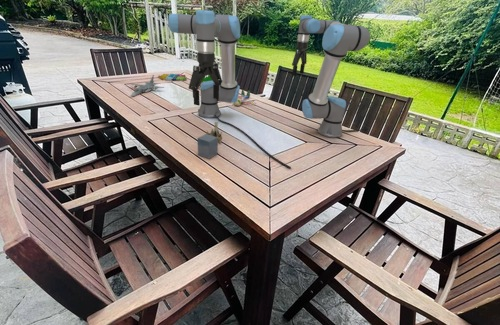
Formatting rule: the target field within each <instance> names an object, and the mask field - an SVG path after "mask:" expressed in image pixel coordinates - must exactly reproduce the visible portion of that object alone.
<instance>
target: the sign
mask: <svg viewBox="0 0 500 325" xmlns="http://www.w3.org/2000/svg"><path fill="white" fill-rule="evenodd" d="M158 78H159V80H162V81H163V80H165V81H172V82H173V81H178V82H179V81H182V82H184V81H187V77H186V74H180V73H163V74H161V75H158Z"/></svg>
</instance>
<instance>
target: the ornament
mask: <svg viewBox="0 0 500 325" xmlns="http://www.w3.org/2000/svg"><path fill="white" fill-rule="evenodd" d="M206 81H213V80H212V79H211V77H210V75H207V76H205V77H204V78H203V80H202V82H201V83H203V82H206ZM199 88H201V84H200V86H199Z"/></svg>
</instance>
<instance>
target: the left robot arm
mask: <svg viewBox="0 0 500 325" xmlns="http://www.w3.org/2000/svg"><path fill="white" fill-rule="evenodd" d="M167 24H168V29H169V30H170V32H171V33H174V34H186V35H188V34H189V35H196V51H197V53H196V61H197V62H198V65H193V66H192V73H191V77H190V81H189V84H188V90H191V91H192V98H193V105H195V106H198V107H199V109H198V116H199V117H201V118H205V119H214V118H216V119H217V120H218V121H219V122H221V123H222V124H227V125H229V126H231V127H233V128H234V129H236V130H238V131H240V132H241V133H243V135H245V136H246V137H247V138H248V139H249V140H251V141H252V142H253V143H254V144H255V145H256V147H258V148H259V149H260V150H261V151H263V152H264V153H265V154H266V155H268V156H269V157H270V158H272V159H273V160H275V161H276V162H278V163H279V164H280V165H283V166H284V167H286V168H288V169H291V166H290V165H288V164H286V163H285V162H282V161H281V160H279V159H278V158H277V157H275V156H274V155H272V154H270V153H269V152H268V151H267V150H266V149H264V148H263V147H262V146H261V145H260V144H259V143H258V142H256V140H254V139H253V138H252V137H251V136H250V135H249V134H248V133H246V132H245V131H244V130H242V129H241V128H239V127H237V125H236V126H235V125H234V124H232V123H230V122H226V121H224V120H221V119H220V118H219V117H221V110H220V108H219V102H220V103H221V102H222V103H223V102H224V103H230V104H231V103H232V104H233V103H235V102H237V100H238V96H240V89H241V86H240V85H238V81H236V44H237V43H238V40H239V39H240V38H241V25H240V20H239V17H238V16H236V15H231V14H218V13H217V14H216V13H215V12H214V11H213V10H203V9H197V10H196V11H195V14H185V13H170V14H169V15H168V18H167ZM215 38H217V42H218V43H219V45H220V62H221V63H220V64H221V72H220V69H219V63H217V62H216V54H215V52H216V40H215ZM208 75H210V77H211V79H212V80H213V81H206V82H203V83H201V82H202V80H203V78H204V77H205V78H206V76H207V77H208ZM200 84H201V87H200ZM199 88H200V90H199Z"/></svg>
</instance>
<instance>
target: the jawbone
mask: <svg viewBox="0 0 500 325" xmlns="http://www.w3.org/2000/svg"><path fill="white" fill-rule="evenodd" d="M218 125H219V124H218V121H214V128H212V129H211V130H210V133H209V131H208V130H206V134H209V135H212V136H215V137H218V144H220V143H222V139H223V136H222V133H223V131H221V132H220V131H219V129H218Z"/></svg>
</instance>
